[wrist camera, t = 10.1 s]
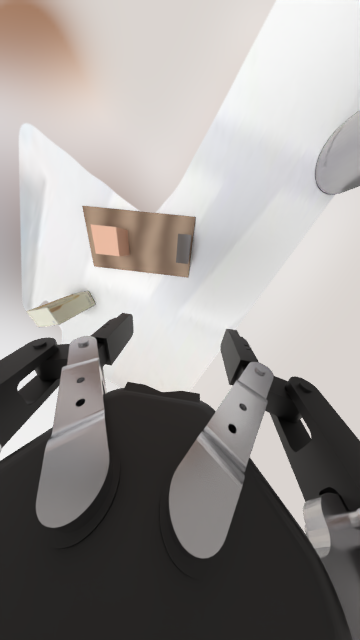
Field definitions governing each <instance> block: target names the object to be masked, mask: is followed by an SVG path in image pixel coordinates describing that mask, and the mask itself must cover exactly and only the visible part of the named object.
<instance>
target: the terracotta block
mask: <svg viewBox="0 0 360 640" xmlns="http://www.w3.org/2000/svg"><path fill="white" fill-rule="evenodd" d="M90 225H91V230H92V236H93V241H94V247H95V252H96V254H104V255H113V256H127V255H129V241H128V230H125V229H121V228H118V227H111V226H101V225H92V224H90Z"/></svg>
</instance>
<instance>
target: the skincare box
mask: <svg viewBox="0 0 360 640" xmlns="http://www.w3.org/2000/svg"><path fill="white" fill-rule="evenodd" d="M94 305H95V302H94V300H93V298H92V296H91V295H90V293H89V291H86V292H80V293H76V294H72V295H69V296H66V297H64V298H61V299H58V300H56V301H53V302H50V303H48V304H45V305H42V306H40V307H37V308H34V309H32V310H29V311H27V313H28V315H29V316H30V317H31V319H32V320H33V321H34V322H35V324H36V325H37V326H38V327H39V328H41V327H48V326H55V325H60V324H61V323H63V322H65V321H67V320H69V319H70V318H72V317H74V316H76V315H78V314H79V313H81V312H83V311H85V310H86V309H88V308H90V307H92V306H94Z"/></svg>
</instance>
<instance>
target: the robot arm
mask: <svg viewBox="0 0 360 640" xmlns="http://www.w3.org/2000/svg"><path fill="white" fill-rule="evenodd" d="M316 181H317V185H318V186H319V188H320V189H321V190H322V191H323V192H325V193H327V194H338V193H342V192H345V191H347V190H350V189H353V188H355V187H358V186H360V110H359V111H358V112H357V113H355V114H354V115H353V116H352V117H351V118H349V119H348V120H347V121H346V122H345V123H344V124H342V125H341V126H340V127H339V128H338V129H337V130H336V131H335V132H334V133H333V135H332V136H331V137H330V138H329V140H328V141H327V143H326V144H325V146H324V147H323V150H322V152H321V154H320V156H319V159H318V162H317V166H316ZM132 335H133V317H132V315H131V314H125V313H122V314H121V315H119V316H118V317H117V318H114V319H111V320H109V321H108V322H107V323H106V324H104V325H103V326H102V327H101V328H100V329H98V330H97V331H96V332H95V333H94V334H92V335H91V336H84V337H80V338H77V339H75V340H74V341H72V342H71V343H70V344H61V345H57V342H56V340H55V339H53V338H41V339H38V340H34V341H32V342H30V343H28V344H26V345H25V346H23V347H21V348H20V349H18V350H16V351H15V352H13V353H12V354H10V355H8V356H7V357H5V358H3V359H2V360H0V452H1V448H2V447H3V446H4V445H5V444H6V443H7V442H8V441H9V440H10V439H11V437H12V436H13V435H14V434H15V433H16V432H17V431H18V430H19V429H20V428H21V427H22V425H23V424H24V423H25V422H26V421H27V420H28V419H29V418H30V417H31V415H32V414H33V413H34V412H35V411H36V410H37V409H38V408H39V407H40V406H41V405H42V404H43V402H44V401H45V400H46V399H47V398H48V397H49V396H50V395H51V394H52V393H53V392H54V391H55V389H56V388H57V387H58V386H59V392H58V398H57V404H56V411H55V417H54V425H53V427H52V428H51V429H49V430H48V431H46V432H45V433H43V434H42V435H40V436H39V437H37V438H35V439H34V440H32V441H31V442H30V443H28V444H26V445H25V446H23V447H21V448H20V449H18V450H17V451H15V452H14V453H12V454H10V455H9V456H7V457H6V458H4V459H3V460H1V461H0V640H360V441H359V439H357V437H356V436H355V435H354V433H353V432H352V431H351V430H350V428H349V427H348V426H347V425H346V424H345V422H344V421H343V420H342V419H341V417H340V416H339V415H338V414H337V413H336V411H335V410H334V409H333V408H332V406H331V405H330V404H329V403H328V401H327V400H326V399H325V398H324V397H323V395H322V394H321V393H320V392H319V390H318V389H317V388H316V387H315V386H314V385H312V384H311V383H309V382H308V381H306V380H304V379H302V378H299V377H291V378H290V379H289V381H285V380H283V379H280V378H278V377H275V376H274V375H273V373H272V371H271V370H270V369H269V368H268V367H266V366H265V365H263V364H261V363H259V362H258V360H257V358H256V356H255V355H254V353H253V351H252V350H251V348H250V347H249V344H248V342H247V341H246V340H245V339H244V338H243V337H240V336H239V334H238V332H237V330H232V329H226V331H225V334H224V337H223V340H222V343H221V353H222V357H223V361H224V365H225V369H226V373H227V376H228V381H229V384H230V385H233V387H232V388H231V389H230V391H229V393H228V394H227V396H226V397H225V399H224V400H223V402H222V403H221V405H220V406H219V408H218V409H217V411H215V410H214V409H213V408H211V407H210V406H209V405H208V404H206V403H204V402H203V401H200V394H197V393H191V392H185V391H175V392H160V391H158V390H155V389H153V388H151V387H149V386H146V385H143V384H137V383H131V382H127V384H126V386H125V388H120V389H116V390H113V391H110V392H108V393H107V392H106V385H105V379H104V372H103V366H104V365H105V364H107V365H112V364H113V362H114V361H115V359H116V358H117V357H118V355H119V354H120V352H121V351H122V350H123V348H124V347H125V345H126V344H127V343H128V341H129V340H130V339H131V337H132ZM33 370H35V371H36V373H37V376H35V377H34V378H33V379H32V380H31V381H30V382H29V383H27V384H26V385H25V386H24V387H23V388H22V389H20V390H19V391H17V386H18V384H19V382H20V381H21V380H22V379H23V378H25V377H26V376H27V375H28V374H30V373H31V372H32V371H33ZM265 411H267V412H269V413H270V415H271V417H272V419H273V422H274V425H275V427H276V430H277V432H278V434H279V437H280V440H281V442H282V444H283V447H284V449H285V451H286V454H287V457H288V459H289V462H290V464H291V467H292V469H293V472H294V474H295V476H296V479H297V481H298V484H299V487H300V489H301V491H302V494H303V497H304V499H305V502H306V503H305V504H304V508H303V514H304V520H305V523H306V524H305V532H306V534H305V533H304V531H303V530H302V529H301V527H300V526H299V524H298V523H297V522H296V520H295V519H294V518H293V516H292V515H291V513H290V512H289V511H288V509H287V508H286V507H285V505H284V504H283V503H282V501H281V500H280V498H279V497H278V496H277V494H276V493H275V492H274V490H273V489H272V488H271V486H270V485H269V483H268V482H267V480H266V479H265V478H264V477H263V475H262V474H261V472H260V471H259V470H258V468H257V467H256V466H255V464H254V463H253V461H252V460H251V459H250V454H251V451H252V448H253V444H254V442H255V439H256V436H257V433H258V430H259V427H260V424H261V421H262V418H263V415H264V412H265ZM301 418H303V419H304V421H305V423H306V424H307V426H308V428H309V429H310V432H311V438H310V436H309V434H308V433H307V431H306V429H305V427H304V425H303V424H302V422H301V420H300V419H301ZM306 535H307V536H306Z"/></svg>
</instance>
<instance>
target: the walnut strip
mask: <svg viewBox="0 0 360 640" xmlns="http://www.w3.org/2000/svg"><path fill="white" fill-rule="evenodd" d="M82 207H83V212H84V217H85V222H86V227H87V232H88V237H89V242H90V248H91V253H92V258H93V263H94V266H96V267H104V268H113V269H121V270H130V271H138V272H147V273H155V274H164V275H172V276H181V277H188V275H189V266H190V258H191V250H192V242H193V233H194V225H195V217H189V216H179V215H169V214H159V213H148V212H139V211H129V210H119V209H109V208H99V207H89V206H82ZM90 224H92V225H101V226H111V227H118V228H121V229H125V230H128V241H129V255H127V256H113V255H104V254H96V252H95V247H94V241H93V236H92V230H91V225H90Z"/></svg>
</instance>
